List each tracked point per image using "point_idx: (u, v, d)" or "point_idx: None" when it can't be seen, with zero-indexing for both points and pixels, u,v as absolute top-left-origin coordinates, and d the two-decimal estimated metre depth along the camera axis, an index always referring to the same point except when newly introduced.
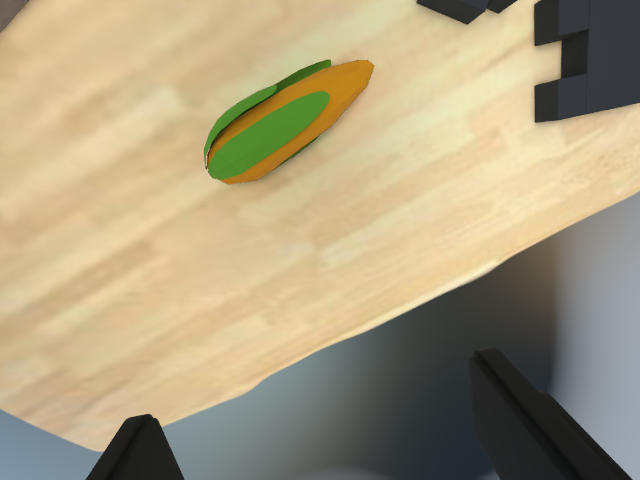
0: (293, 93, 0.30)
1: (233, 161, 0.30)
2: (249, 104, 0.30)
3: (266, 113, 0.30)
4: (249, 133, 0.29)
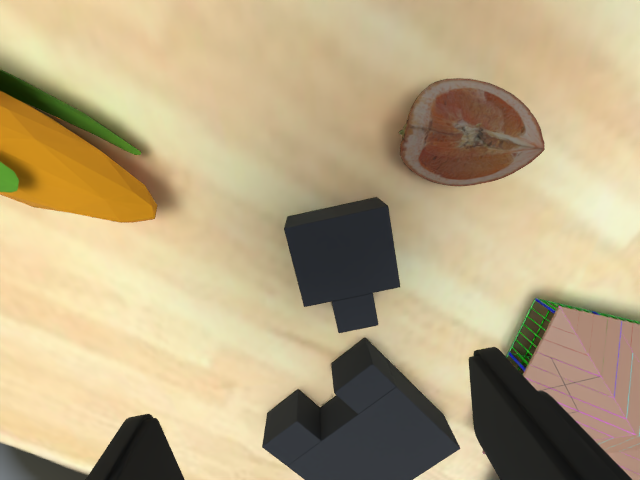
0: None
1: None
2: None
3: None
4: None
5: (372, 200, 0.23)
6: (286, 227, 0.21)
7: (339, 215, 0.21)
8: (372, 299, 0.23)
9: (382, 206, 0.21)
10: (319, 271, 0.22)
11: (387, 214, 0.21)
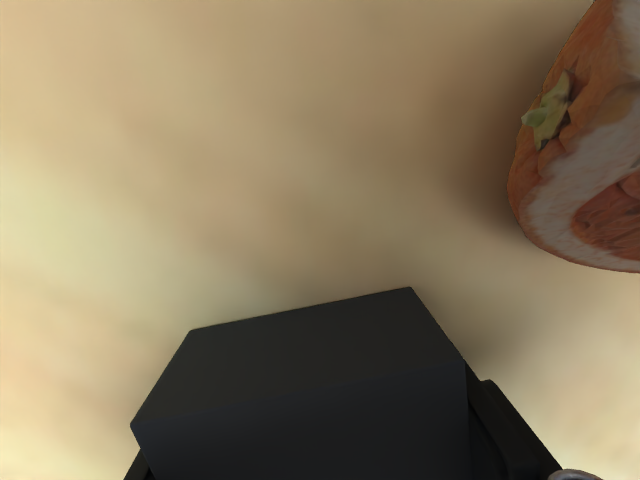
0: None
1: None
2: None
3: None
4: None
5: (402, 303, 0.09)
6: (139, 418, 0.07)
7: (307, 382, 0.07)
8: None
9: (445, 357, 0.07)
10: None
11: (460, 383, 0.07)
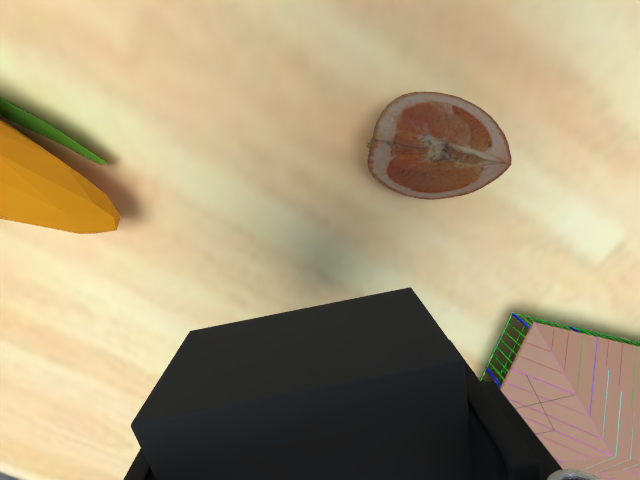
0: None
1: None
2: None
3: None
4: None
5: (402, 303, 0.09)
6: (140, 418, 0.07)
7: (308, 382, 0.07)
8: None
9: (444, 358, 0.07)
10: None
11: (460, 384, 0.07)
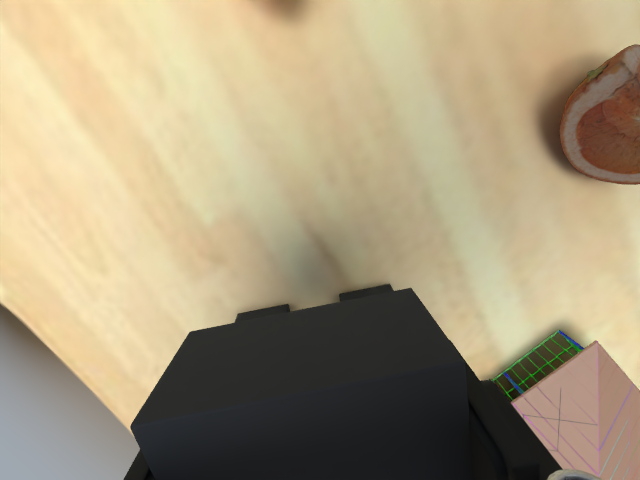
0: None
1: None
2: None
3: None
4: None
5: (402, 304, 0.09)
6: (139, 420, 0.07)
7: (308, 383, 0.07)
8: None
9: (445, 359, 0.07)
10: None
11: (461, 385, 0.07)
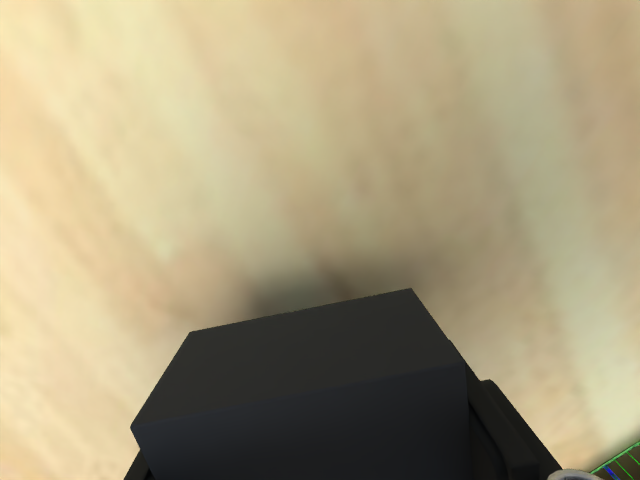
0: None
1: None
2: None
3: None
4: None
5: (402, 304, 0.09)
6: (139, 420, 0.07)
7: (308, 384, 0.07)
8: None
9: (445, 359, 0.07)
10: None
11: (461, 385, 0.07)
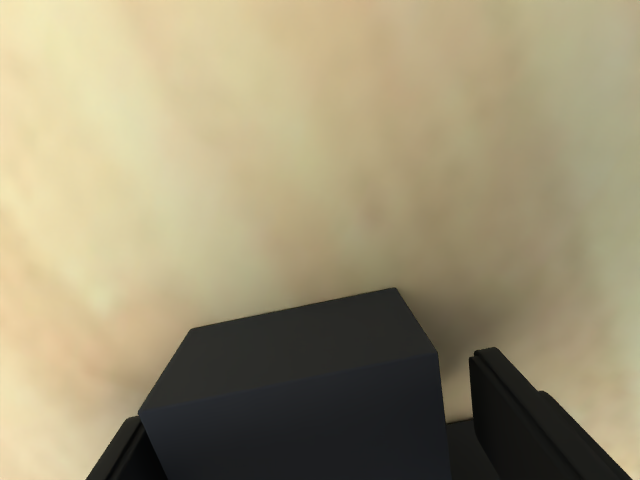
0: None
1: None
2: None
3: None
4: None
5: (386, 302, 0.10)
6: (146, 406, 0.07)
7: (298, 372, 0.07)
8: None
9: (420, 349, 0.07)
10: None
11: (434, 373, 0.07)
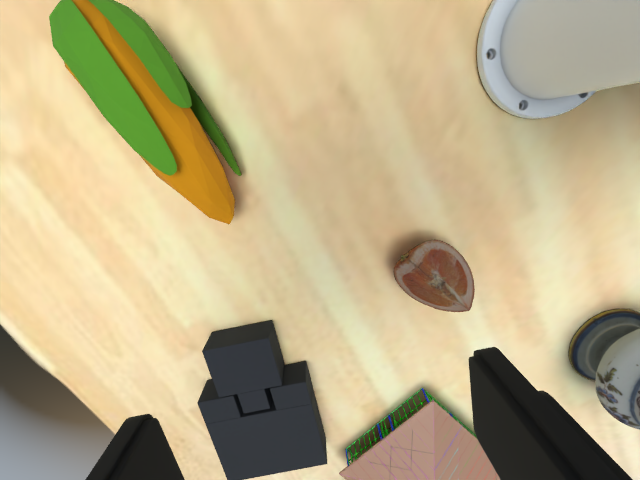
0: (178, 129, 0.24)
1: (65, 36, 0.21)
2: (152, 68, 0.23)
3: (147, 92, 0.23)
4: (107, 64, 0.22)
5: (266, 325, 0.35)
6: (203, 350, 0.33)
7: (238, 342, 0.33)
8: (264, 392, 0.34)
9: (265, 337, 0.32)
10: (227, 376, 0.33)
11: (268, 342, 0.32)
